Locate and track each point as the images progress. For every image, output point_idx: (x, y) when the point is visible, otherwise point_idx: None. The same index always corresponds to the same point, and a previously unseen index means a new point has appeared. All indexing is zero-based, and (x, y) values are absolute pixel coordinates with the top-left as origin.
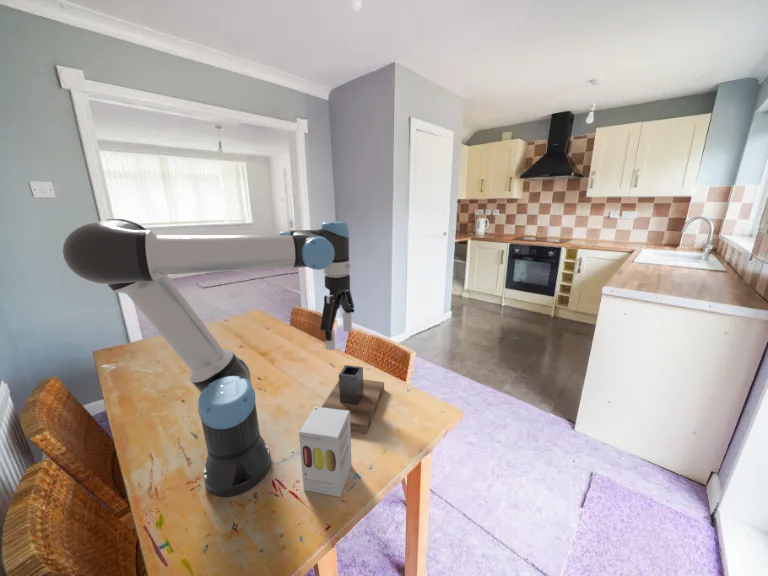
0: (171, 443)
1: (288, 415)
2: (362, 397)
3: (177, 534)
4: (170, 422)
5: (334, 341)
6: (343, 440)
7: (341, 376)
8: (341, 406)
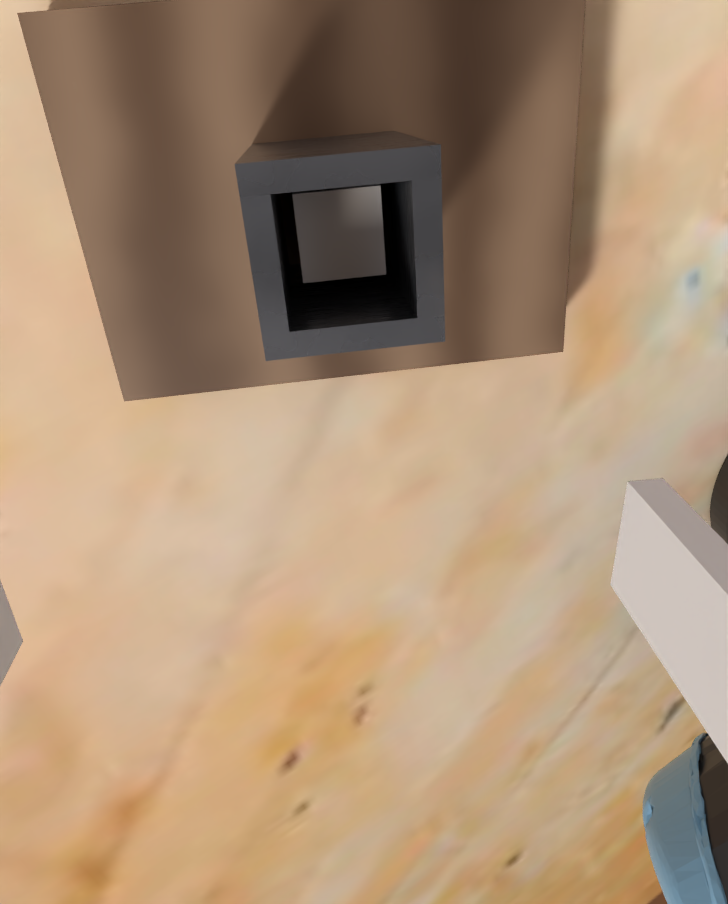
0: None
1: (503, 497)
2: (298, 132)
3: None
4: (622, 810)
5: (710, 556)
6: None
7: (442, 310)
8: None
